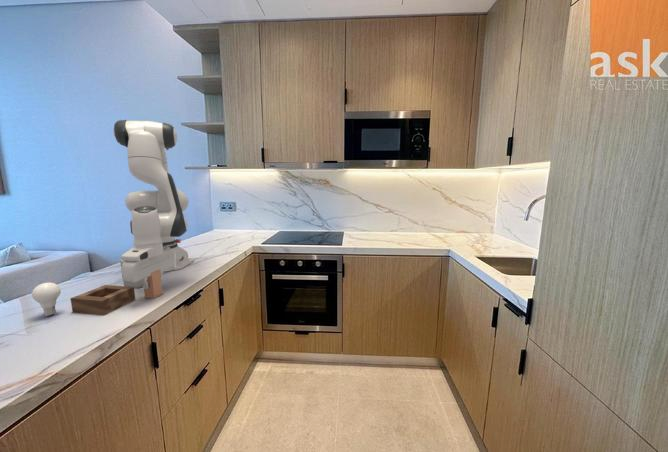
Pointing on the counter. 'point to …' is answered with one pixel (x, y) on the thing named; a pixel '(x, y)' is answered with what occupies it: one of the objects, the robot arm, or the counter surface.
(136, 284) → the skincare box
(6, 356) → the counter surface
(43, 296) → the lightbulb
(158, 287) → the terracotta peg
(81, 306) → the walnut socket block
